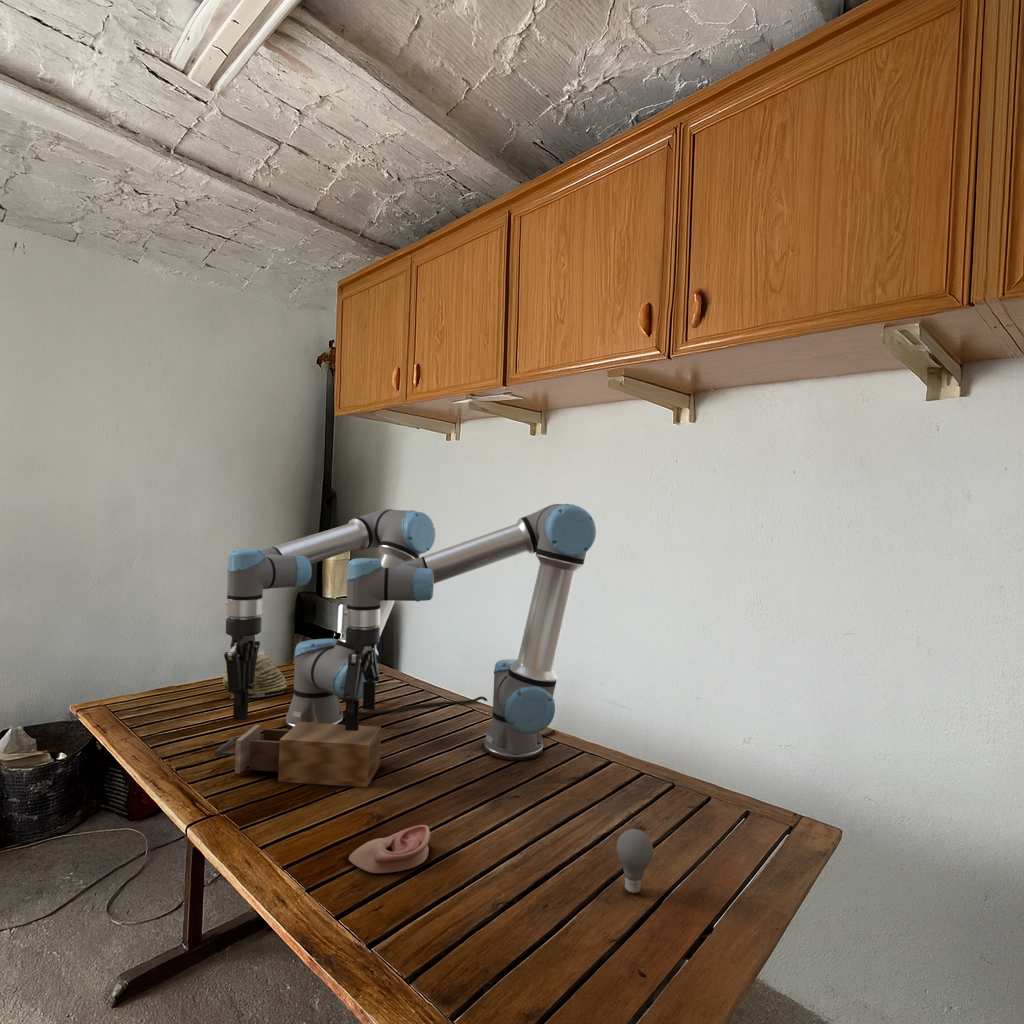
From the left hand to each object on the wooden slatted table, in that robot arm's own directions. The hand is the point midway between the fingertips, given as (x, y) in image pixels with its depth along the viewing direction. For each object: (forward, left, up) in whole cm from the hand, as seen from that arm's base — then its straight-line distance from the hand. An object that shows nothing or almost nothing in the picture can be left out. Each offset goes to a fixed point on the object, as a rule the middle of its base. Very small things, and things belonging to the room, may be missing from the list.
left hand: (240, 718), depth 146 cm
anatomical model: (0, +53, -12) cm, 54 cm away
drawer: (-5, +7, -10) cm, 13 cm away
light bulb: (-21, +90, -12) cm, 93 cm away
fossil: (-30, -46, -12) cm, 56 cm away
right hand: (-16, +23, +1) cm, 28 cm away
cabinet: (-13, +17, -12) cm, 24 cm away
